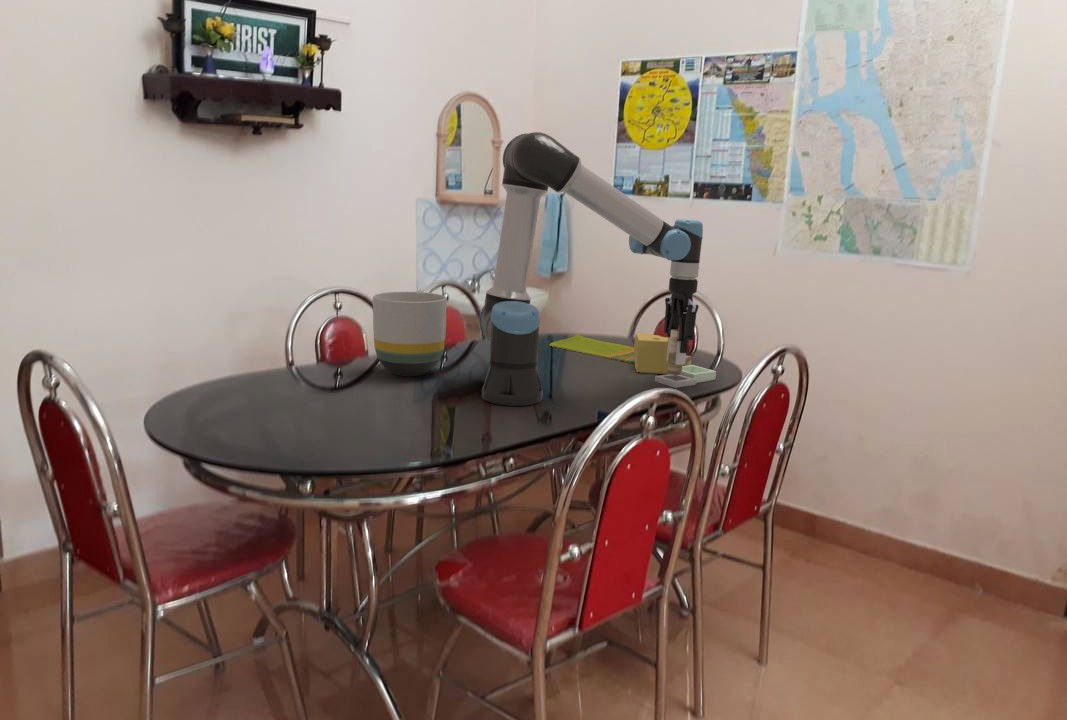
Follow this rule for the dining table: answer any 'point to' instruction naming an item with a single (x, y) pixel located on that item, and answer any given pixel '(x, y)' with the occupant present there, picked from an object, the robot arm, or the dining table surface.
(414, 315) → the planter
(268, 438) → the dining table surface
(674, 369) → the dowel
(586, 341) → the dish towel
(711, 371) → the tray
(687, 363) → the stop block
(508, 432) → the dining table surface
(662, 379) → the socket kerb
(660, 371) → the cheese
